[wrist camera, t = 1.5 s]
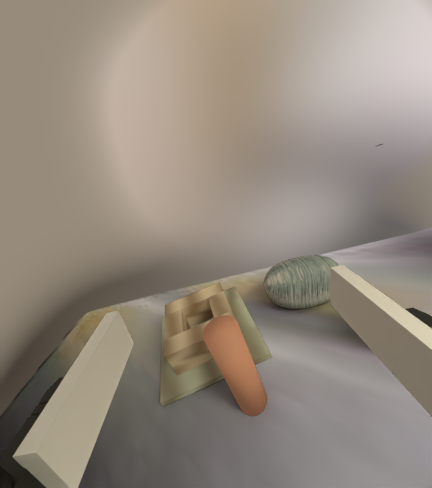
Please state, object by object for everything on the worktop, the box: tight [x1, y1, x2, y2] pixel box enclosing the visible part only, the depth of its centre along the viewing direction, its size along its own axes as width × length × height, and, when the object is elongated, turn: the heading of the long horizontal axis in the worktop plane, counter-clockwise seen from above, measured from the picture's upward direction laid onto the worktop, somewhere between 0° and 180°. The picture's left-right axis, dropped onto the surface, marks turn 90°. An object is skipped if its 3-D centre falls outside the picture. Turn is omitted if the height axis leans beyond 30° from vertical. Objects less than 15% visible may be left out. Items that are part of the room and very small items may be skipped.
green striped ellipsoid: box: [264, 255, 339, 309], centre depth 38 cm, size 14×10×10 cm
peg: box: [203, 315, 267, 416], centre depth 25 cm, size 4×4×14 cm
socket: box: [160, 282, 272, 406], centre depth 38 cm, size 18×18×6 cm
